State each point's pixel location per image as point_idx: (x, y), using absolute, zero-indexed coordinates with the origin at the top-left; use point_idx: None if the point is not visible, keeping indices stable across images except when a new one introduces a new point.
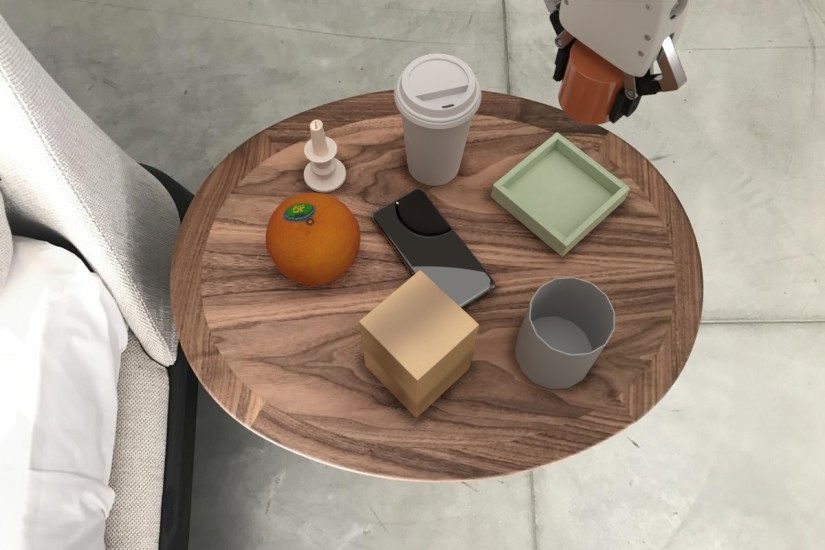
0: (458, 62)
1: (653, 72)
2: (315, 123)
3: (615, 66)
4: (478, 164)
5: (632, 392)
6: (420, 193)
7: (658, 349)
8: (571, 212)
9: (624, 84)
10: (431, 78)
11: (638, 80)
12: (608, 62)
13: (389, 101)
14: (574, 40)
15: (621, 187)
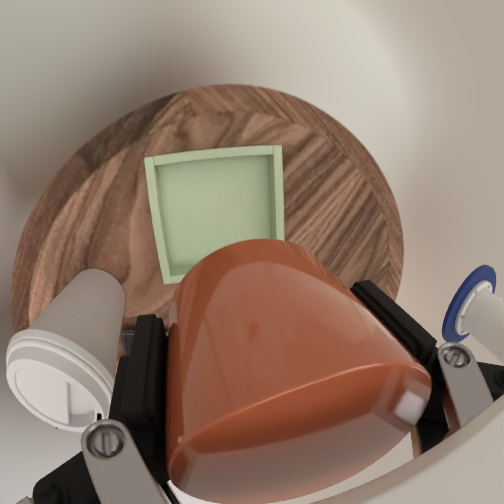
0: (25, 365)
1: (481, 374)
2: (56, 427)
3: (367, 445)
4: (120, 255)
5: (389, 289)
6: (128, 336)
7: (389, 249)
8: (245, 215)
9: (412, 436)
10: (44, 398)
11: (442, 405)
12: (340, 458)
13: (15, 281)
14: (160, 469)
15: (272, 152)
